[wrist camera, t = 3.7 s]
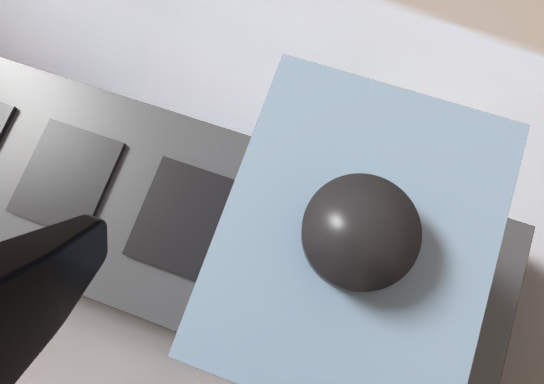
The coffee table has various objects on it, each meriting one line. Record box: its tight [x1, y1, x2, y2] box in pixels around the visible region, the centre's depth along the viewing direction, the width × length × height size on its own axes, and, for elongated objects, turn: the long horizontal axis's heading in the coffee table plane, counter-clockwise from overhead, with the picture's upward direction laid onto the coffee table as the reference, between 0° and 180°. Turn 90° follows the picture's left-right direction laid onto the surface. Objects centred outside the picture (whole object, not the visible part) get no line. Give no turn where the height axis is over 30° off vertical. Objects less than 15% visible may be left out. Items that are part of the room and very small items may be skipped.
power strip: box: [0, 57, 535, 384], centre depth 17 cm, size 31×7×4 cm, turn 70°
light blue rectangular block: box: [168, 54, 530, 384], centre depth 11 cm, size 4×5×11 cm
